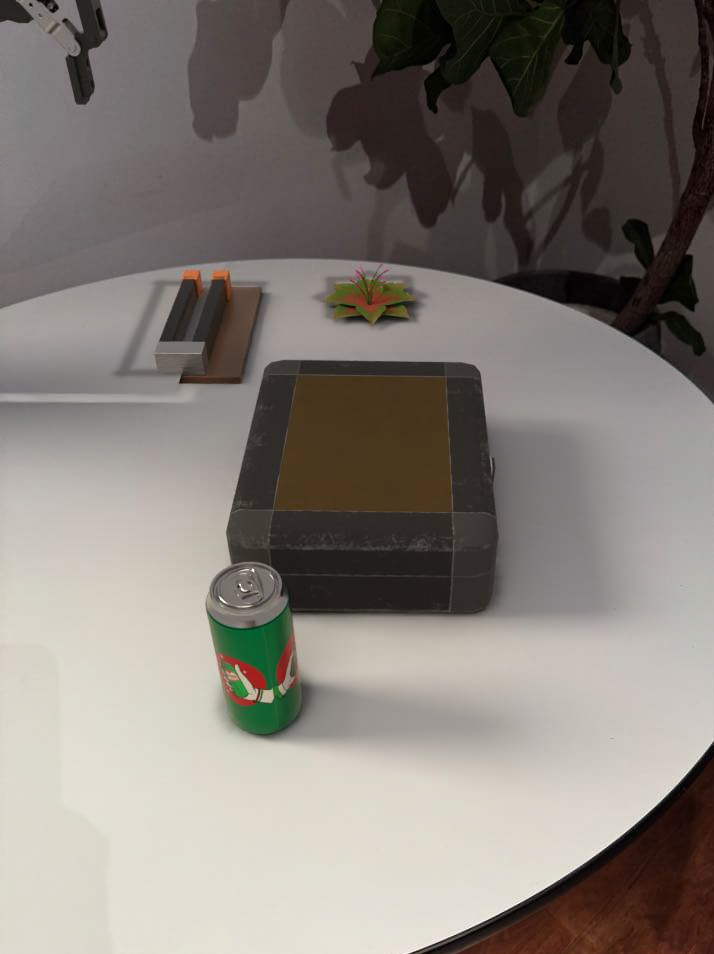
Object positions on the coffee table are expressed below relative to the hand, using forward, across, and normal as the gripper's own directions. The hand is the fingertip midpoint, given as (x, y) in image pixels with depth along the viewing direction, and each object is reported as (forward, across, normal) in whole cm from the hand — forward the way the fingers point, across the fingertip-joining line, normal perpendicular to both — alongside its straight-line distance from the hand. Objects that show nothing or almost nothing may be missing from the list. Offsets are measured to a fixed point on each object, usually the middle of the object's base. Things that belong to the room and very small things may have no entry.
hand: (33, 101), depth 74 cm
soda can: (+26, +22, -44) cm, 56 cm away
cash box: (+26, +29, -23) cm, 45 cm away
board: (+26, +9, +7) cm, 28 cm away
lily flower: (+26, +28, +14) cm, 41 cm away
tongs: (+25, +9, +7) cm, 28 cm away
